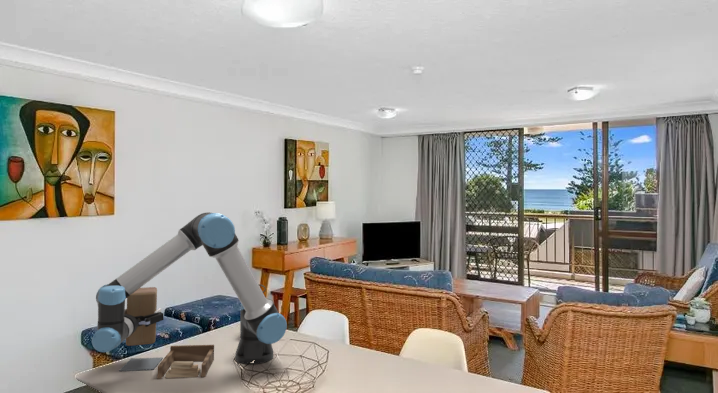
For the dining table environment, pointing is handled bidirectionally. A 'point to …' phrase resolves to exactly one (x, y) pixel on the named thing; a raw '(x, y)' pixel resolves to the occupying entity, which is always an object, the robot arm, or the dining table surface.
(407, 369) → the dining table surface
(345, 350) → the dining table surface
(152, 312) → the wooden block
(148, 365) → the felt pad
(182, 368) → the brown wooden tray
